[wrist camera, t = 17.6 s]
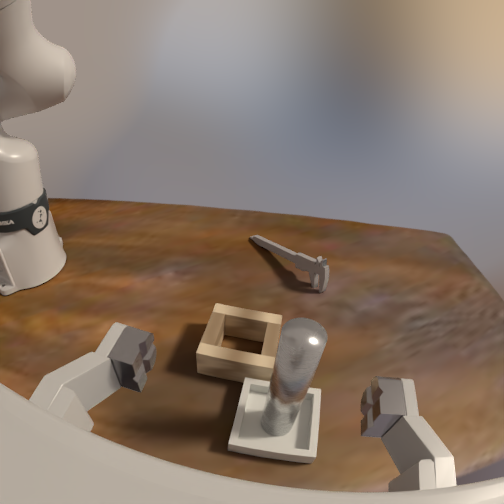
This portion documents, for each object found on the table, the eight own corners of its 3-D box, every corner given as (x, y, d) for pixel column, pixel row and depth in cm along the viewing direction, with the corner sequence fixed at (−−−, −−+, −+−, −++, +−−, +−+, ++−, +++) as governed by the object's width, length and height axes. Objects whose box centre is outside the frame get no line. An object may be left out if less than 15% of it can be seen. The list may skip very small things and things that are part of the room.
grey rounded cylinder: (258, 433, 31) (279, 347, 23) (263, 407, 34) (283, 314, 26) (291, 438, 31) (327, 354, 23) (294, 411, 34) (327, 321, 26)
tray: (227, 450, 30) (228, 443, 28) (244, 386, 37) (245, 377, 36) (311, 463, 29) (316, 457, 28) (317, 398, 36) (321, 389, 35)
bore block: (197, 372, 38) (196, 352, 36) (215, 323, 46) (215, 303, 43) (269, 387, 37) (273, 368, 35) (278, 335, 45) (282, 315, 43)
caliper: (324, 293, 54) (333, 262, 51) (320, 295, 53) (328, 264, 50) (253, 237, 67) (255, 210, 64) (248, 239, 67) (251, 211, 63)
